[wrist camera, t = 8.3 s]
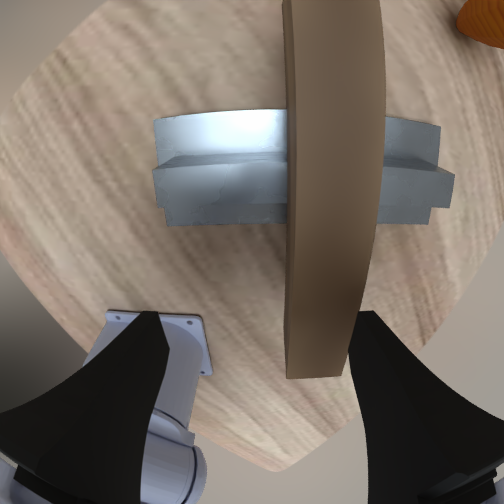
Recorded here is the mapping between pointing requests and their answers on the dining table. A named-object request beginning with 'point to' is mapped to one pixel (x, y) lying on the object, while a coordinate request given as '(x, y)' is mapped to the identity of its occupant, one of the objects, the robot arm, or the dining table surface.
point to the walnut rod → (330, 174)
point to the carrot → (483, 21)
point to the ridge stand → (279, 169)
